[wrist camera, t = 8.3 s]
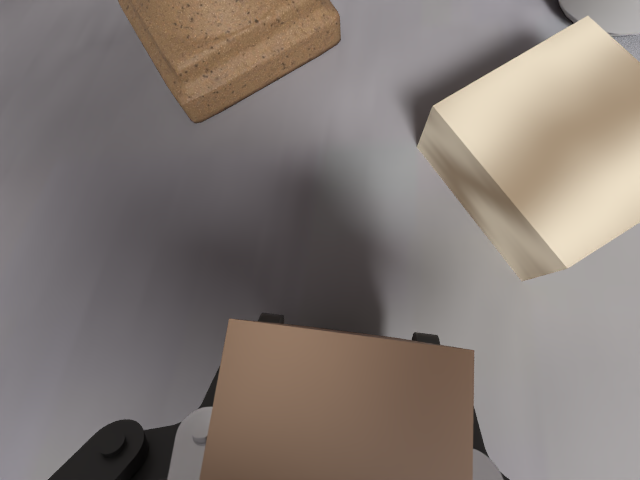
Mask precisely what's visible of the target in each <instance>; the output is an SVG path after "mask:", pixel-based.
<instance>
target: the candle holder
mask: <svg viewBox="0 0 640 480" xmlns="http://www.w3.org/2000/svg"><path fill="white" fill-rule="evenodd" d="M118 2H119V4H120V6H121V8H122V10H123V11H124V13H125V15H126V17H127V18H128V20H129V22H130V23H131V25H132V27H133V29H134V30H135V32H136V34H137V35H138V37H139V39H140V41H141V42H142V44H143V46H144V47H145V49H146V51H147V52H148V54H149V56H150V58H151V59H152V61H153V63H154V64H155V66H156V68H157V70H158V71H159V73H160V75H161V76H162V78H163V80H164V82H165V83H166V85H167V86H168V88H169V89H170V91H171V92H172V94H173V95H174V97H175V98H176V100H177V101H178V103H179V104H180V106H181V107H182V108H183V110H184V111H185V113H186V114H187V115H188V117H189V118H190V120H191V121H193V122H194V123H199V122H202V121H204V120H206V119H208V118H210V117H212V116H214V115H216V114H218V113H220V112H222V111H224V110H226V109H227V108H229V107H231V106H233V105H234V104H236V103H238V102H240V101H241V100H243V99H245V98H247V97H248V96H250V95H252V94H254V93H255V92H257V91H259V90H261V89H262V88H264V87H266V86H268V85H269V84H271V83H273V82H275V81H276V80H278V79H280V78H282V77H283V76H285V75H287V74H289V73H290V72H292V71H294V70H296V69H297V68H299V67H301V66H303V65H304V64H306V63H308V62H310V61H311V60H313V59H315V58H317V57H318V56H320V55H321V54H323V53H325V52H326V51H328V50H329V49H331V48H332V47H334V46H336V45H337V44H338V43H339V42H340V40H341V35H340V16H339V14H338V11H337V10H336V9H335V7H334V6H333V4H332V3H331V2H330V0H118Z"/></svg>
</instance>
